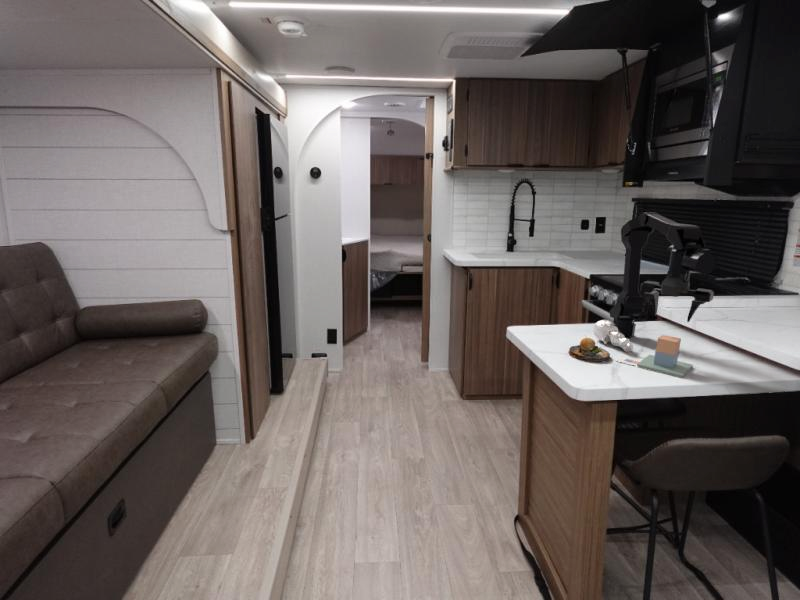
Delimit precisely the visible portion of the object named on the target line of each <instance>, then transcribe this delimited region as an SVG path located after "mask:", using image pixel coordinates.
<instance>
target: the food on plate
mask: <svg viewBox="0 0 800 600" xmlns="http://www.w3.org/2000/svg"><path fill="white" fill-rule="evenodd" d="M568 354H569V356H570V357H574V359H575V360H579V361H582V362H589V363H597V364H598V363H605V362H609V360H610V356H611V354H610V352H609V351H608V350H605V349H603V348H601V346H597V345H596V342H595V340H594V339H592V338H591V337H590V338H589V337H587V336H586V334H585V337H584V338H582V340H580V343H579V344H578V345H572V346H570V347H569V351H568ZM604 361H605V362H604Z"/></svg>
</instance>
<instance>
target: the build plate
mask: <svg viewBox="0 0 800 600" xmlns="http://www.w3.org/2000/svg"><path fill="white" fill-rule="evenodd" d="M654 358H655V354H654V355H653V354H647V356H645V357H644V358H643V359H642V360H641V362H639V363H638V364H637V366H639V367H638V368H640V367H643V368H642V369H644V368H646V369H645V370H648V369H649V371H652V370H653V372H656V371H657V372H658V373H660V372H661V374H665V375H669V376H672V377H676V376H677V377H676V378H681V379H683V378H684V377H685V376H686V375H687V373H688V372H690V371H691V369H692V368H693V365H694V364H691V363H689V362H688V363H687V362H683V361H679V360H677V365H676V366H675V367H673V368H672V369H671V368H667V367H663V366H659V365H655V364H654Z"/></svg>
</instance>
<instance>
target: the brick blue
mask: <svg viewBox="0 0 800 600" xmlns="http://www.w3.org/2000/svg"><path fill="white" fill-rule="evenodd" d="M679 353H680V351H679V352H678V353H677V354H676V355H670V354H666V353H661V352H656V351H655V353H654V356H655V358H654V364H655V365H659V366H663V367H667V368H671V369H672V368H673V367H675V366H676V365H677V361H679V360H678V359H679Z"/></svg>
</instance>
